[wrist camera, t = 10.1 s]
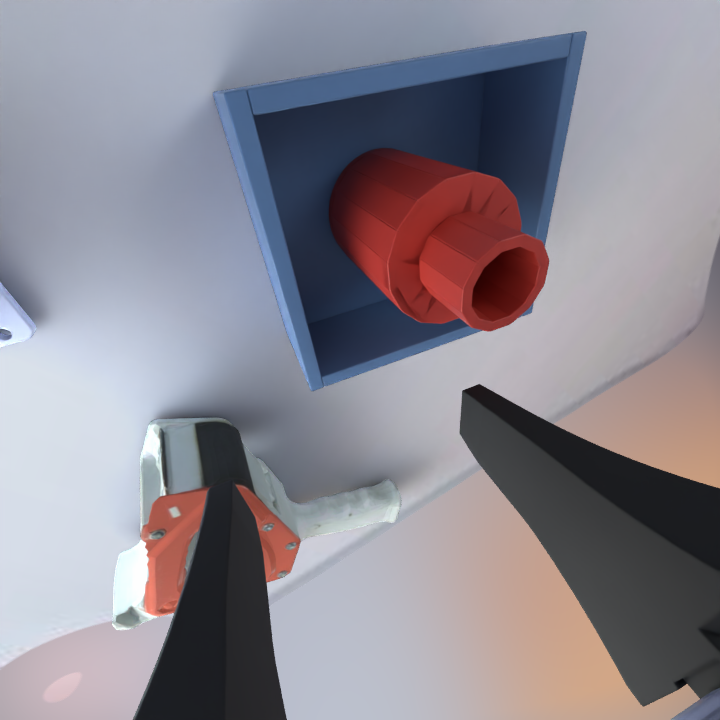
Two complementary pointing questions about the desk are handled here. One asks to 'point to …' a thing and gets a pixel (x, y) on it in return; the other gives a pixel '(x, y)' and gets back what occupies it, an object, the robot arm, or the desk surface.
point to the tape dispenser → (186, 503)
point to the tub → (401, 132)
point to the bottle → (437, 239)
